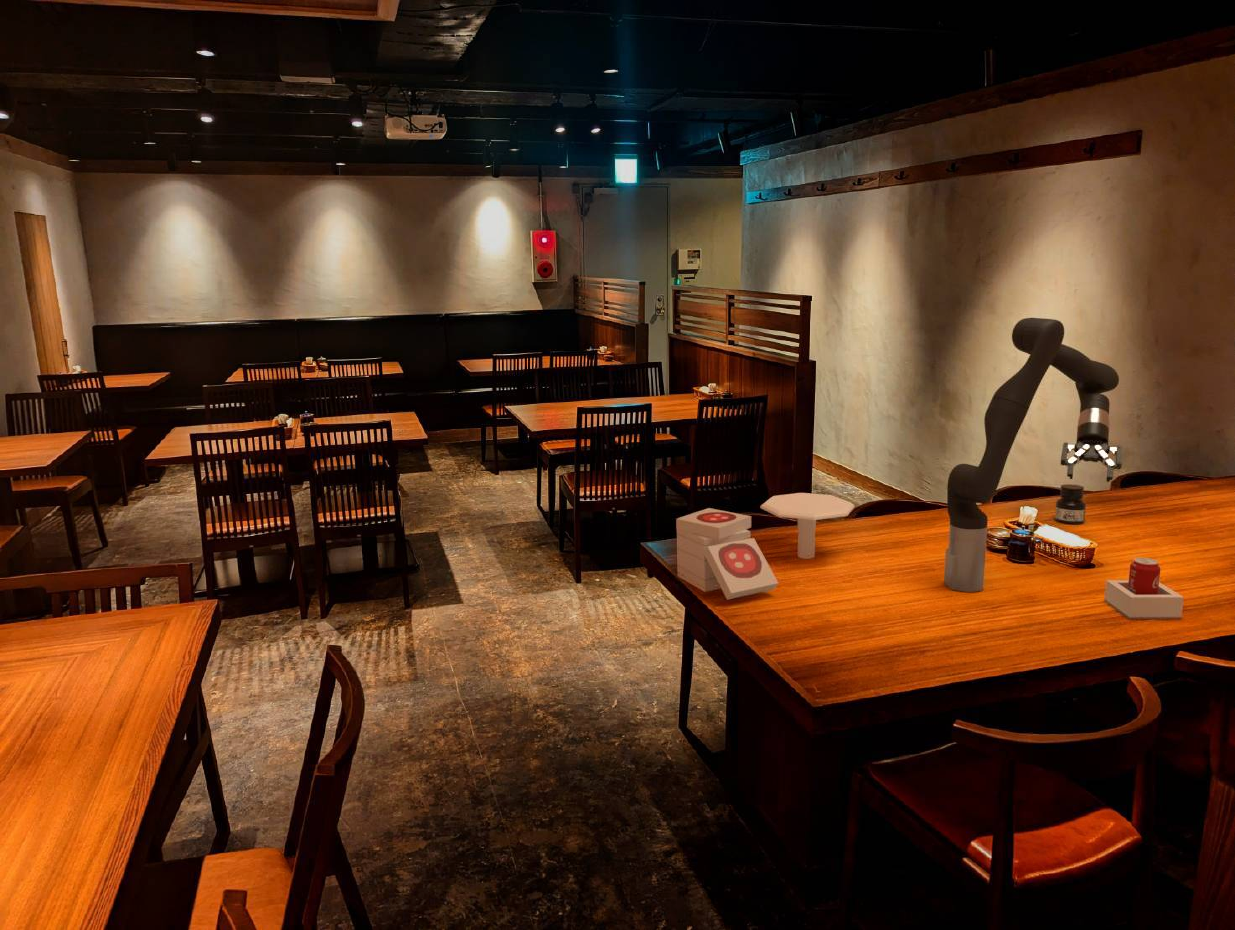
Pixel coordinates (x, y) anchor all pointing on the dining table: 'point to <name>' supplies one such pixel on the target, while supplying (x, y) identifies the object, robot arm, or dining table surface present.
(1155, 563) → the beverage can
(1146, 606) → the well holder
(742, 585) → the pizza boxes
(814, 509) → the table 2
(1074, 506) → the ink bottle
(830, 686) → the dining table surface
